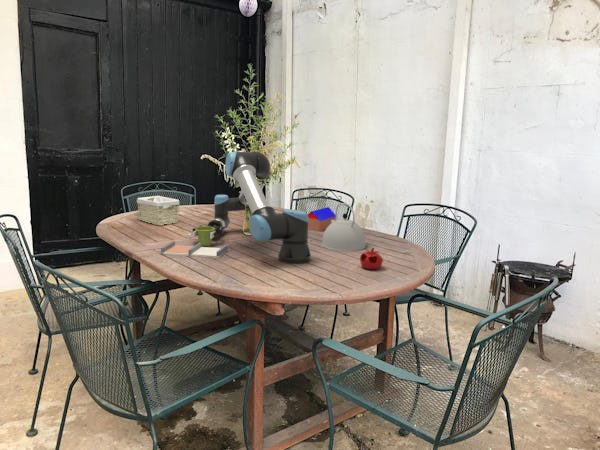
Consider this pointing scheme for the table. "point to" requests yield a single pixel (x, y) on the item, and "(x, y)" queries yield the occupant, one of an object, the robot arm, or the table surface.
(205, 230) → the plant pot
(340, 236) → the kettle
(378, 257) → the pomegranate
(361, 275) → the table surface
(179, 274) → the table surface
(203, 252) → the slot board
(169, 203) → the storage basket
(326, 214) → the house
